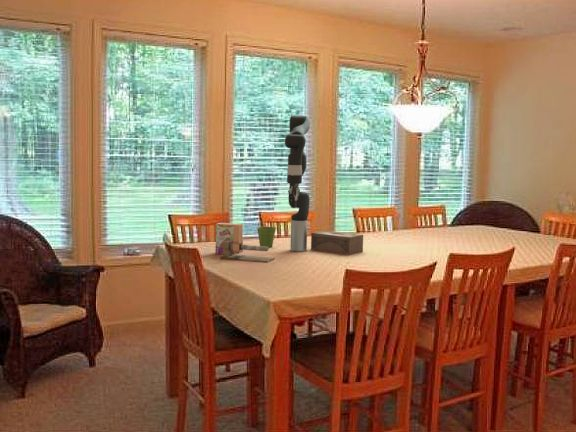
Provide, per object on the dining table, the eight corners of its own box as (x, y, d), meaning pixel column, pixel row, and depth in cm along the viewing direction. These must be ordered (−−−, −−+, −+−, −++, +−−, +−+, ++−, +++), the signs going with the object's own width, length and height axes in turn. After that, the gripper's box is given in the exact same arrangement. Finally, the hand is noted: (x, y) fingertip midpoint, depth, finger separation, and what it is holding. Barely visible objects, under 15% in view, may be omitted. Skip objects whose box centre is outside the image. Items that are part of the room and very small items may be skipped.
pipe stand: (227, 255, 331) (228, 239, 330) (274, 259, 323) (274, 243, 323) (220, 258, 322) (220, 242, 321) (267, 262, 314) (267, 246, 313)
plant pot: (277, 245, 369) (277, 226, 368) (274, 248, 357) (275, 229, 356) (257, 244, 370) (257, 226, 369) (254, 248, 359) (254, 228, 357)
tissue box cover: (310, 249, 358) (311, 232, 357) (325, 247, 370) (325, 230, 369) (349, 255, 343) (349, 237, 342) (362, 252, 354) (363, 234, 353)
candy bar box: (215, 253, 336) (215, 223, 334) (218, 252, 341) (218, 222, 339) (234, 255, 333) (235, 224, 331) (237, 253, 338) (238, 223, 336)
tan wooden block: (237, 251, 327) (237, 223, 326) (242, 251, 326) (243, 224, 325) (232, 253, 322) (233, 225, 320) (238, 253, 321) (238, 225, 319)
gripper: (291, 173, 326) (290, 206, 328) (283, 174, 314) (282, 208, 316) (305, 173, 324) (304, 207, 326) (297, 174, 311) (296, 209, 313)
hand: (293, 207), depth 321 cm, fingers closed
